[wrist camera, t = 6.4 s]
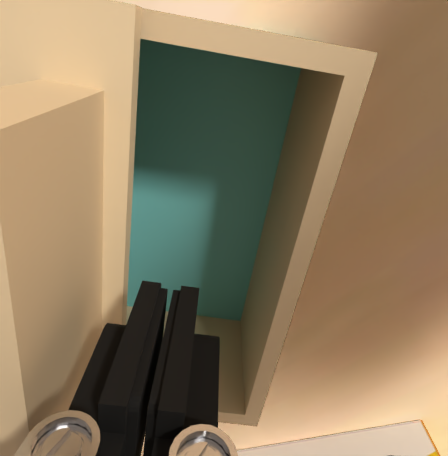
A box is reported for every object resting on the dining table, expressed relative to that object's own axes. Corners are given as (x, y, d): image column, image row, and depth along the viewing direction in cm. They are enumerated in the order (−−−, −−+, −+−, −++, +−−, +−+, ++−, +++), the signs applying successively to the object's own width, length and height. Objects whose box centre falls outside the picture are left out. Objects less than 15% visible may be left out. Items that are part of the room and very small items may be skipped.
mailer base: (318, 49, 16) (378, 52, 10) (248, 323, 23) (256, 426, 17) (-214, -51, 14) (-550, -122, 8) (-110, 275, 22) (-247, 370, 15)
